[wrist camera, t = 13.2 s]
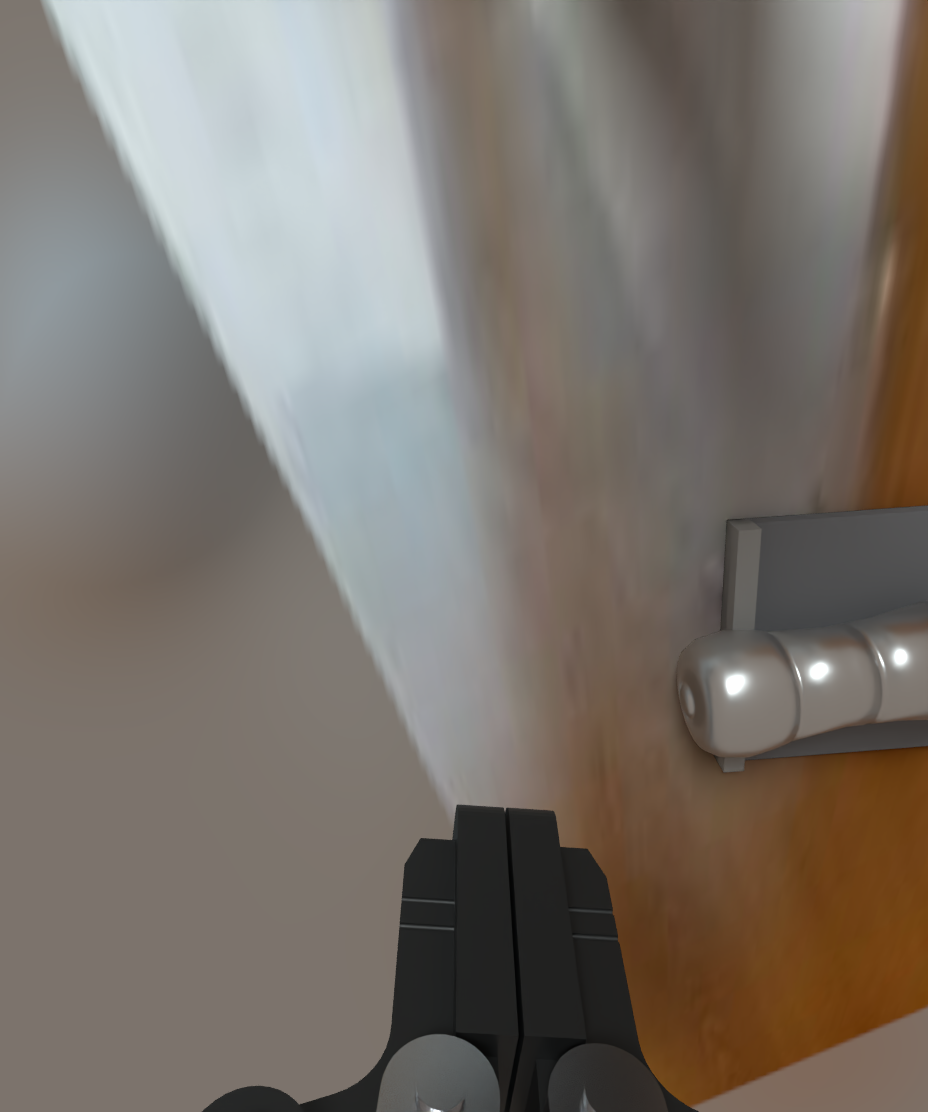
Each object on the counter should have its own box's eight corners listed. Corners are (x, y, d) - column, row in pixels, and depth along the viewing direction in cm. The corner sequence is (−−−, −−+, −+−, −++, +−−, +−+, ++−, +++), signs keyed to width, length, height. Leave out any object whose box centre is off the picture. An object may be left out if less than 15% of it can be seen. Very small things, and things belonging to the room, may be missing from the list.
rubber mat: (726, 520, 44) (738, 530, 42) (980, 501, 44) (1002, 511, 43) (713, 754, 49) (723, 772, 48) (940, 736, 50) (958, 753, 48)
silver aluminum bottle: (670, 612, 42) (1026, 554, 44) (656, 695, 47) (980, 639, 48) (719, 710, 37) (1117, 641, 39) (699, 792, 42) (1057, 726, 44)
